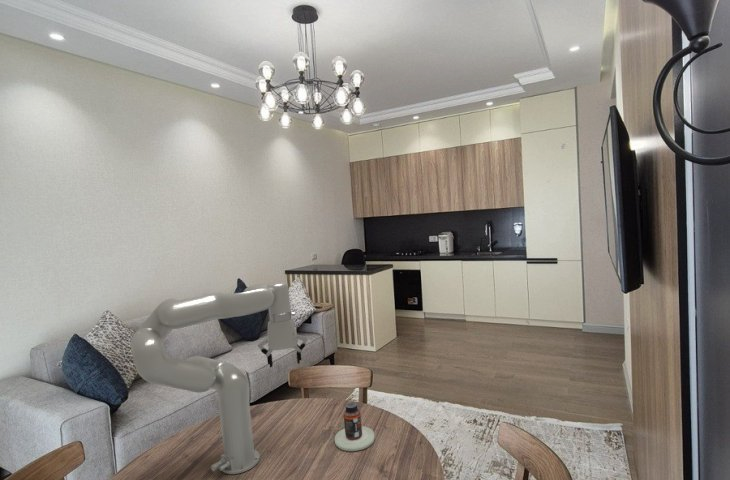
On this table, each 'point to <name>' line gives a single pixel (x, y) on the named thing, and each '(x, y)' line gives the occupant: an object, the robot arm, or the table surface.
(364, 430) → the dish
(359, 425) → the supplement bottle
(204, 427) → the table surface
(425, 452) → the table surface
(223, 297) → the robot arm
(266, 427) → the table surface
